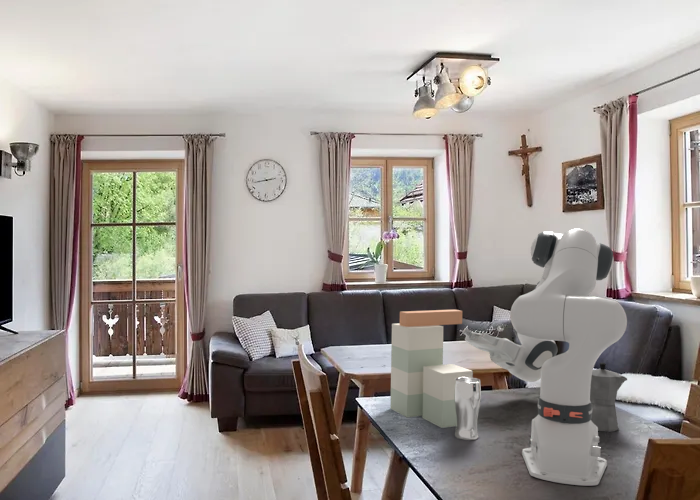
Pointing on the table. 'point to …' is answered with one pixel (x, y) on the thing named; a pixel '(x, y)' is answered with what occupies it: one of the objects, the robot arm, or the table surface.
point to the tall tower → (412, 365)
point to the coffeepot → (605, 398)
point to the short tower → (441, 393)
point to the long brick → (430, 317)
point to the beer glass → (467, 407)
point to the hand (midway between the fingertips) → (473, 332)
